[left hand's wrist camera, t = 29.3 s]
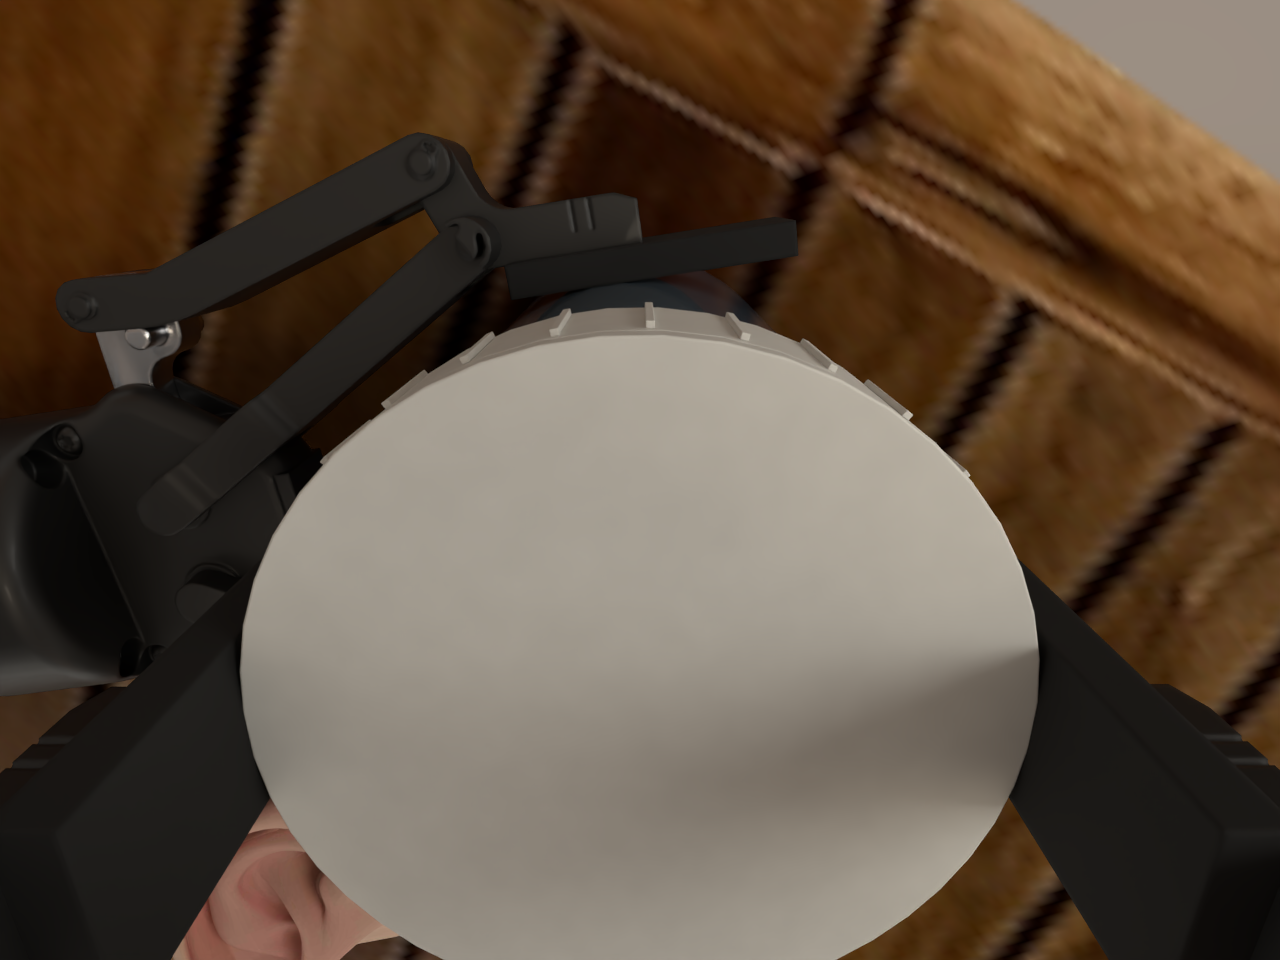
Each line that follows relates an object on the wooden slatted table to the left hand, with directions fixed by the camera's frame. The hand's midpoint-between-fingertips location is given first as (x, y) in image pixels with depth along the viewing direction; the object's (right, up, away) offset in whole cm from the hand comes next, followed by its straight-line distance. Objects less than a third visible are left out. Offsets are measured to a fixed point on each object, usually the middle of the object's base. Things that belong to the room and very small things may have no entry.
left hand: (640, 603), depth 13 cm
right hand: (+4, +3, +6) cm, 8 cm away
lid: (0, -1, -3) cm, 3 cm away
